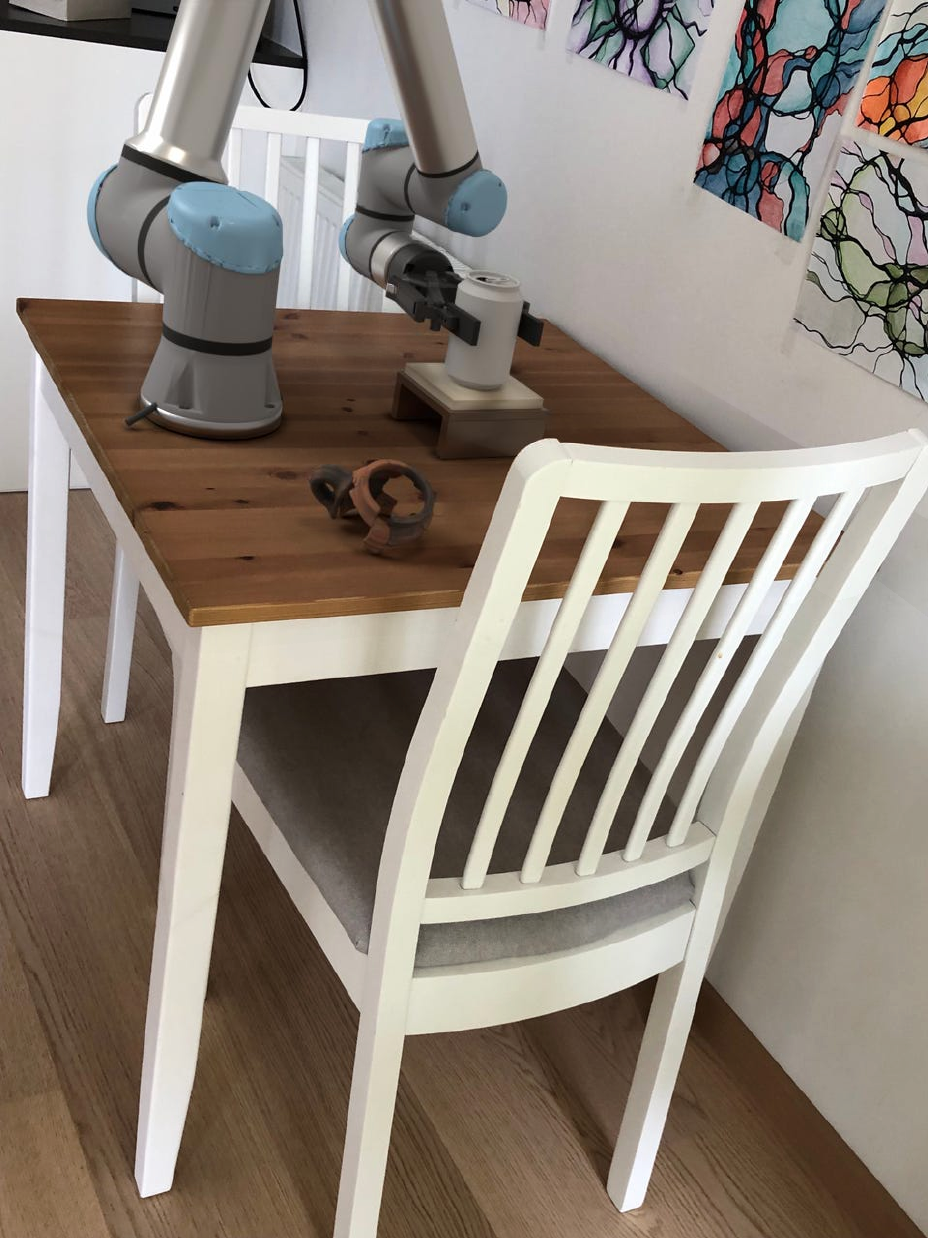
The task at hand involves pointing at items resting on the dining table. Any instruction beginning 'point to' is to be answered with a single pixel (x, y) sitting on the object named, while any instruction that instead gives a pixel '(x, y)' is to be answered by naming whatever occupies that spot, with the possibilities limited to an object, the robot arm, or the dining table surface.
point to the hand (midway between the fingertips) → (507, 334)
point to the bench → (470, 412)
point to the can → (486, 330)
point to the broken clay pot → (374, 500)
